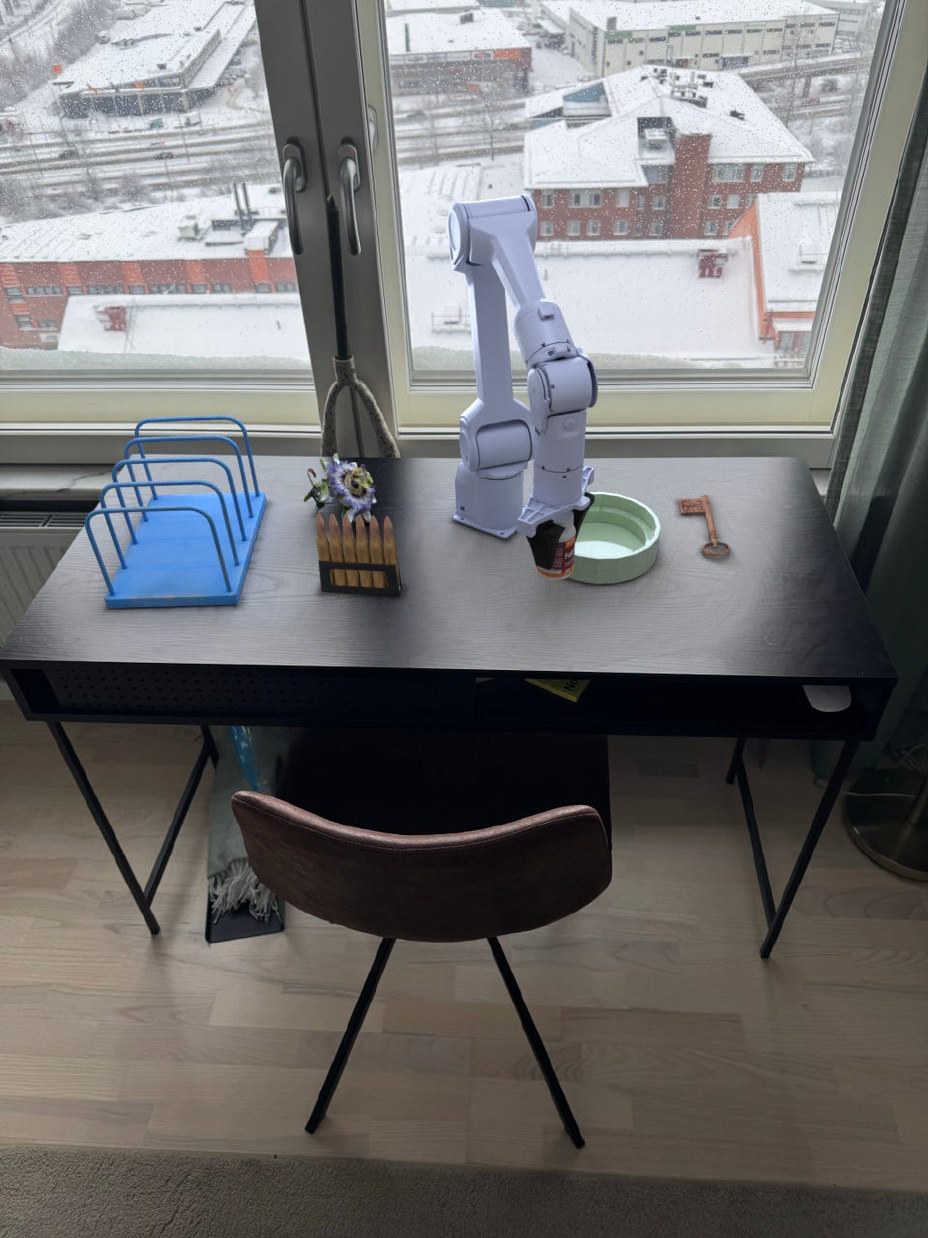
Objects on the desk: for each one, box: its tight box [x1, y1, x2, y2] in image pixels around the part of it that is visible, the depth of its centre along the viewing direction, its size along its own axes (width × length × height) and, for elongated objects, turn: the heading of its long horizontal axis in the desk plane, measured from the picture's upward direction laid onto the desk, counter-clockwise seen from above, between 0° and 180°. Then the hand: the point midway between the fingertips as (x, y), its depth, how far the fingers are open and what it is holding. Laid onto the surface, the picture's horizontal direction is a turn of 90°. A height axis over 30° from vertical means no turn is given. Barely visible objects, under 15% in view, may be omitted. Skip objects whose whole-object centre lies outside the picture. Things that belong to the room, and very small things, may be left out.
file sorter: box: [84, 414, 268, 609], centre depth 127 cm, size 25×17×15 cm
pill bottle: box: [535, 510, 576, 581], centre depth 115 cm, size 5×5×8 cm
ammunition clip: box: [315, 512, 403, 597], centre depth 121 cm, size 11×2×12 cm, turn 83°
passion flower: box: [303, 453, 377, 526], centre depth 136 cm, size 11×11×12 cm
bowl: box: [567, 491, 662, 585], centre depth 129 cm, size 16×16×4 cm
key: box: [678, 494, 731, 558], centre depth 133 cm, size 6×1×15 cm
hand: (554, 555), depth 116 cm, fingers closed on pill bottle, 5 cm apart
